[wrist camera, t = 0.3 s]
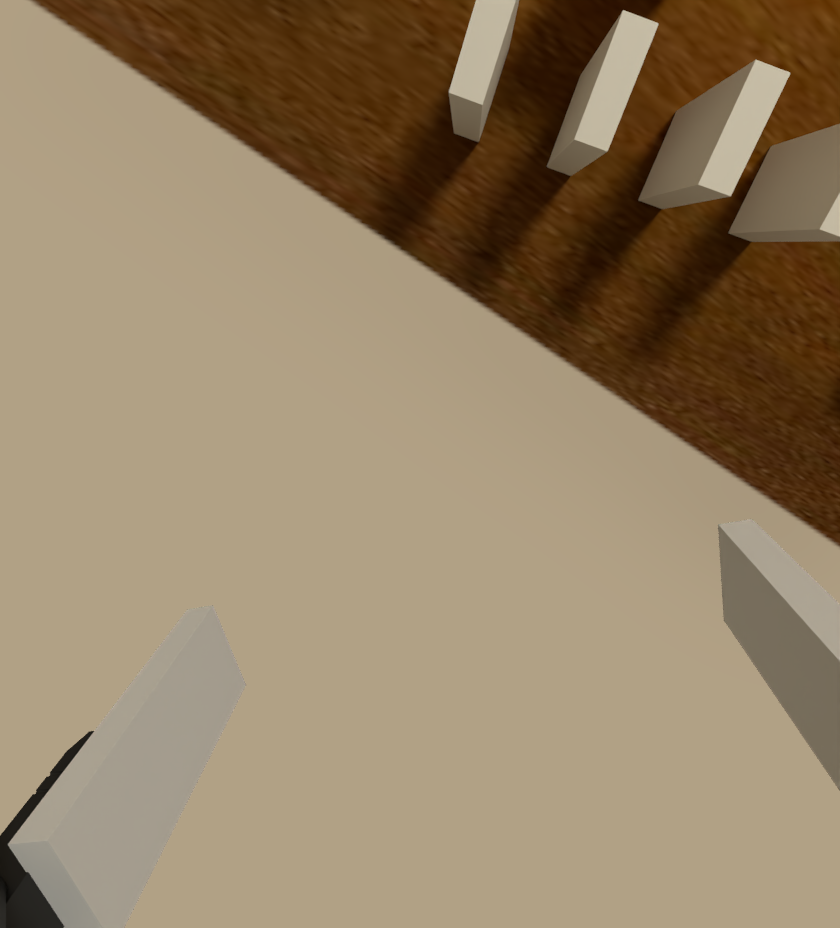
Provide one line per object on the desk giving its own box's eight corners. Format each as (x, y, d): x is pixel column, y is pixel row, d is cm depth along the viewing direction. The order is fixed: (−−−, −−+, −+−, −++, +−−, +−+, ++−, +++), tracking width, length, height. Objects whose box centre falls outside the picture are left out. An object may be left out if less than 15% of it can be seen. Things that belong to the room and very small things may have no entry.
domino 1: (453, 133, 35) (448, 92, 26) (482, 39, 33) (488, -42, 24) (478, 142, 35) (482, 104, 26) (509, 48, 33) (524, -29, 24)
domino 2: (546, 167, 35) (574, 139, 26) (580, 75, 33) (623, 9, 24) (571, 176, 35) (607, 151, 26) (606, 84, 33) (658, 23, 24)
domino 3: (637, 200, 35) (698, 184, 26) (676, 111, 34) (755, 59, 24) (662, 209, 35) (730, 196, 26) (701, 120, 34) (790, 72, 24)
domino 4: (727, 233, 36) (819, 229, 26) (770, 146, 34) (885, 109, 25) (751, 241, 36) (851, 240, 26) (795, 155, 34) (919, 121, 25)
